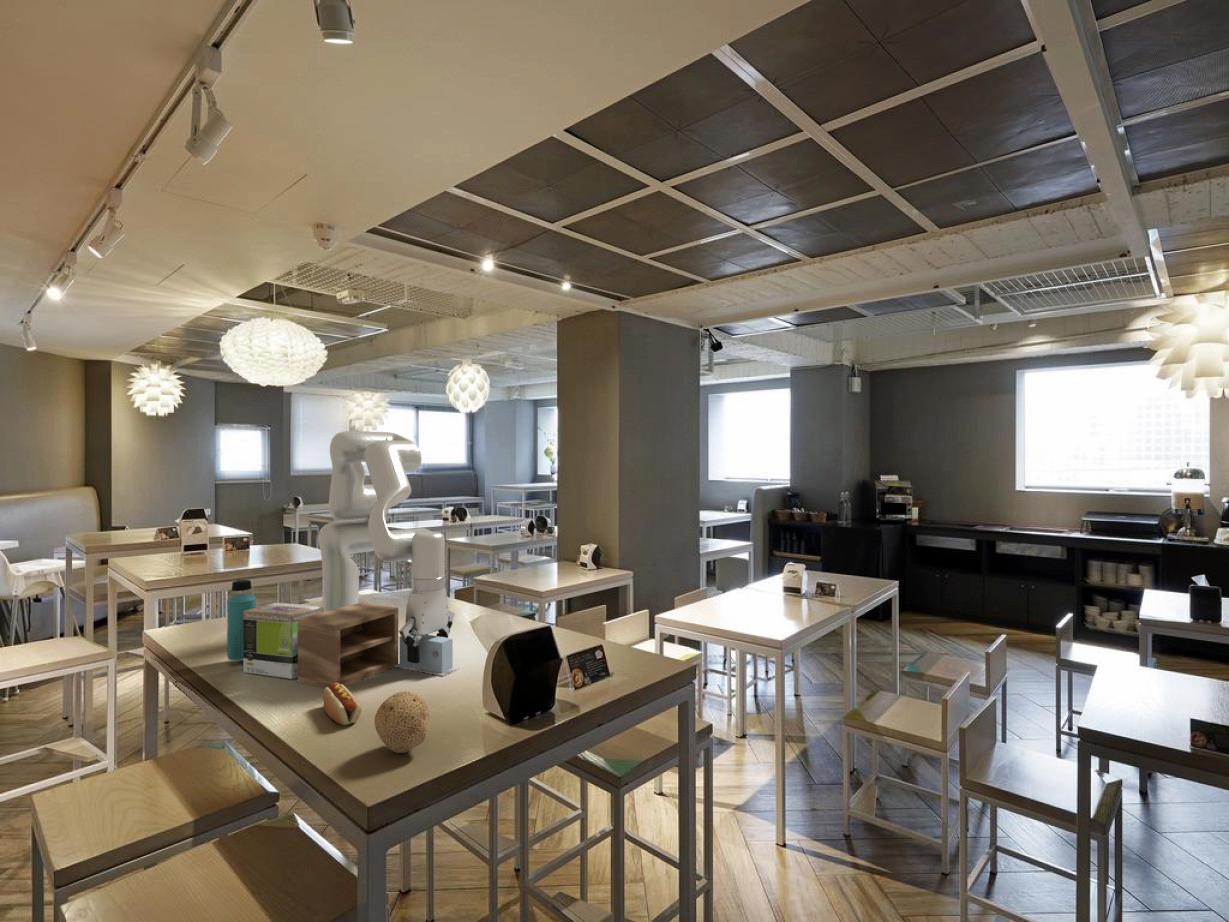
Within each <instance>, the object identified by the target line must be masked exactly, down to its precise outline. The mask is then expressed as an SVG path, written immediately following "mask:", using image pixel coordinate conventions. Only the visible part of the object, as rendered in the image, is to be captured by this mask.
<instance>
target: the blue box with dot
mask: <svg viewBox="0 0 1229 922" xmlns="http://www.w3.org/2000/svg"><path fill="white" fill-rule="evenodd" d="M415 637H416V636H414V637H413V640H414V639H415ZM453 640H454V639H453V638H449V637H448V638H445V637H439V636H436V635H432V634H431V635H430V634H427V635H424V636H422V637H421V639H420V641H419V643H418V646H420V662H419V663H412V662H408V661H407V645H405V642H404V641H403V640H402V637H401V635H400V636H398V664H399V666H403V667H409V668H419V669H424V670H429V671H434V672H439V673H443V672H446V671H448V670H450V669H452V668H453V667H454V666H453V665H454V664H453V659H454V658H453V655H454V654H453V651H454V650H453V649H454V648H453V643H454V642H453Z"/></svg>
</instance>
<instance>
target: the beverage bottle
mask: <svg viewBox="0 0 1229 922" xmlns="http://www.w3.org/2000/svg"><path fill="white" fill-rule="evenodd" d="M251 589H252V582H251V580H249V579H239V580H234V581H232V584H231V591H232V592H242V591H249V590H251ZM226 603H227V605H226V607H227V609H226V611H227V614H226V616H227V617H226V618H227V621H226V622H227V624H226V625H227V628H226V631H227V632H226V656H227V658H228V660H230V661H243V611H245V610H249V609H253V608H257V596H255V595H254V594H253V593H251V592H243V593H235V594H232V595H231V596H230V597H228V599H227V600H226Z"/></svg>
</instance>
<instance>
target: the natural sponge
mask: <svg viewBox="0 0 1229 922" xmlns="http://www.w3.org/2000/svg"><path fill="white" fill-rule="evenodd" d="M429 721H430V710H429V707H428V704H427V703H426V701H425V699H423V698H422V697H421V696H419V695H418V694H416V693H414V692H411V691H406V690H405V691H400V692H395V693H394V694H392V695H390V696H389V697H387V698H386V699H385V700H384V701H383V702H382V703H381V704H380V705H379V707H378V709H377V711H376V713H375V716H374V728H375V730H376V733H377V734H378V737H379V739H380V740H381V741H382V743H383V744H384V745H385V746H386V747H387V748H388V749H389V750H390V751H392V752H394V753H397V754H405V753H407V752H409V751H411V750H412V749H414V748H416V747H419V745H422V743H424V742H425V741H426V738H427V735H428V731H429Z"/></svg>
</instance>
